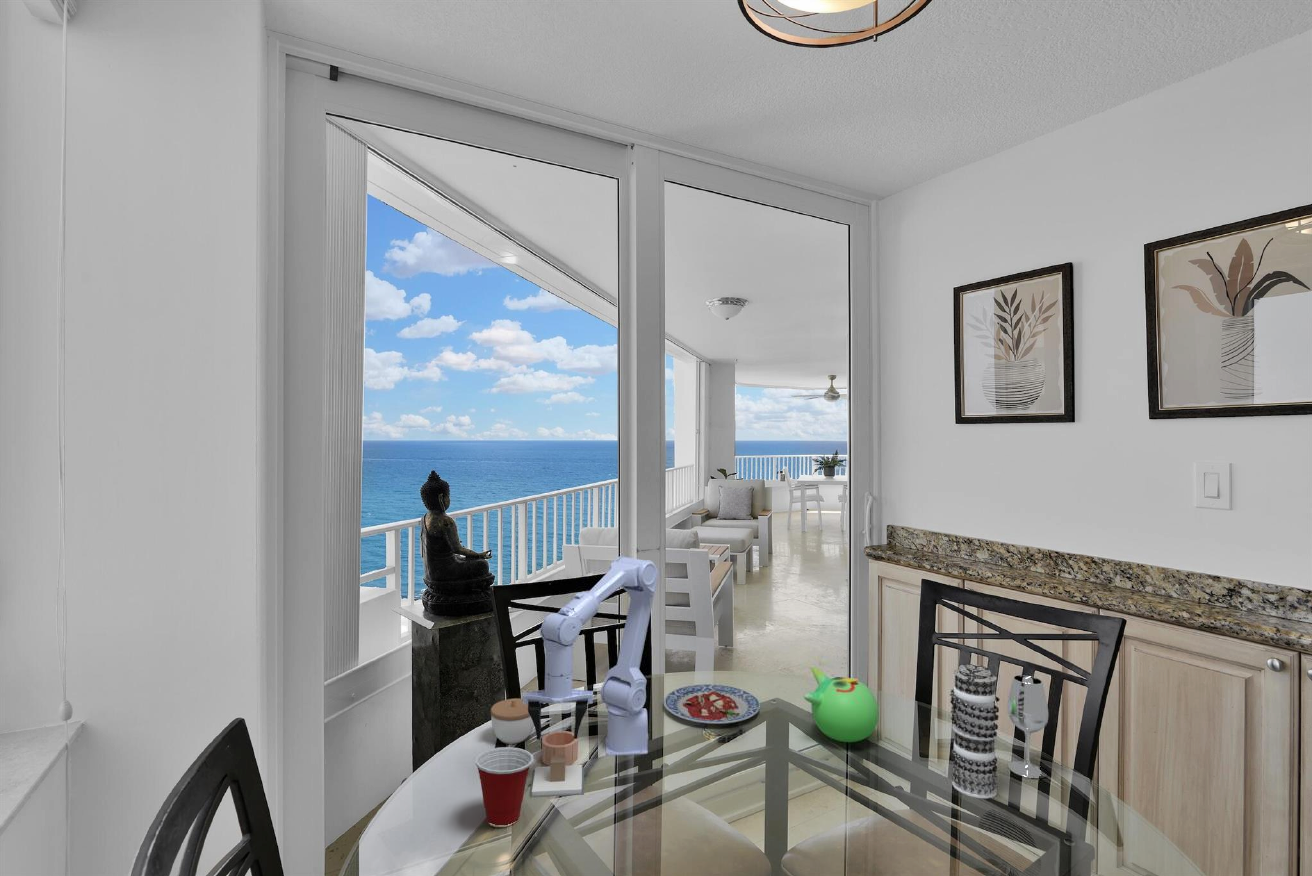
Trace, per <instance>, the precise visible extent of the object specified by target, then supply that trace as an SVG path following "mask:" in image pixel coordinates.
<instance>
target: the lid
mask: <svg viewBox="0 0 1312 876" xmlns="http://www.w3.org/2000/svg"><path fill="white" fill-rule="evenodd" d="M582 768H583V765H582V764H579V765H578V764H575V765H574V764H573V765H572V764H570V765H567V766H565V755H555V756H551V762H550V766H536V767H535V769H534V770H535V774H534V781H533V787H532V796H538V795H558V794H577V793H582Z"/></svg>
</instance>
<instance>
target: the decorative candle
mask: <svg viewBox="0 0 1312 876" xmlns="http://www.w3.org/2000/svg"><path fill="white" fill-rule="evenodd" d="M953 674H954V685H953V688H952V689H950V694H949V696H950V704H951V710H950V713H951V718H950V719H951V721H952V730H953V732H954V740H953V748H952V751H951V754H952V758H951V761H952V763H953V764H952V765H951V772H952V774H951V778H952V782H951V784H952V785H951V786H953V787H954V789H955V790H957V791H958V792H959V793H961V794H963V795H966V796H968V797H971V798H975V799H991V798H994V797H995V796H997V794H998V793H997V791H998V789H997V786H998V783H997V781H998V780H997V778H998V775H997V770H998V766H997V763H998V758H997V757H996V747H995V739H996V738H998V737H997V736H998V732H997V730H998V729H999V725H998V724H997V723H996V722H995V721H998V720H999V717H1000V716H999V715H998V714H997V713H999V711H1000V710H999V708H1000V707H998V706H997V705H995V704H994V703H998V702H999V701H1000V698H999V697H997V696H996V690H995V682H996V680H997V676H996V675H995V674H993V673H992V671H991V670H990V669H989V668H988V667H986V666H983V665H980V664H975V663H965V664H964V663H963V664H961V665H959V667H957V669H955V670H953Z"/></svg>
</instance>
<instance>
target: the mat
mask: <svg viewBox="0 0 1312 876" xmlns="http://www.w3.org/2000/svg"><path fill="white" fill-rule="evenodd" d="M534 774H535V769H533V771H532V775H531V777H532V778H531V782H530V788H529V795H528V798H529V797H530V798H545V797H549V798H550V797H565V796H566V797H567V796H582V795H585V766H584V767H583V766H582V793H577V794H558V795H538V796H532V787H533V781H534Z"/></svg>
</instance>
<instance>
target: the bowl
mask: <svg viewBox="0 0 1312 876" xmlns="http://www.w3.org/2000/svg"><path fill="white" fill-rule="evenodd" d="M578 740H579V736H578V737H577V739H574V731H573V732H572V731H569V730H568V731H567V730H557V731H553V732H549V733H547V734H545V735H544V736H543V737H542V739H541V762H543V764H545V765H546V766H548V767H550V762H551V756H555V755H565V766H571V765H572V764H574V763H575V762H576V761H577V760H578V759H579V755H578V754H579V753H578V752H579V741H578Z"/></svg>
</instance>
